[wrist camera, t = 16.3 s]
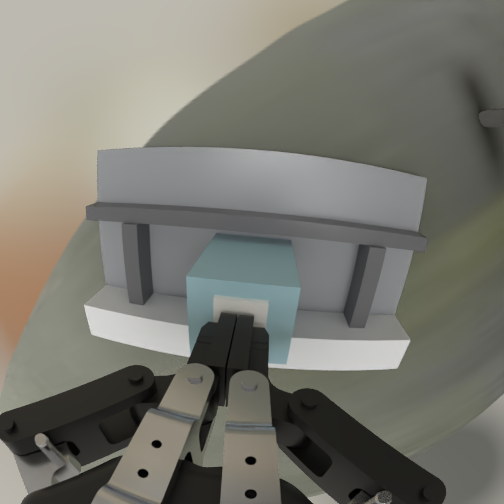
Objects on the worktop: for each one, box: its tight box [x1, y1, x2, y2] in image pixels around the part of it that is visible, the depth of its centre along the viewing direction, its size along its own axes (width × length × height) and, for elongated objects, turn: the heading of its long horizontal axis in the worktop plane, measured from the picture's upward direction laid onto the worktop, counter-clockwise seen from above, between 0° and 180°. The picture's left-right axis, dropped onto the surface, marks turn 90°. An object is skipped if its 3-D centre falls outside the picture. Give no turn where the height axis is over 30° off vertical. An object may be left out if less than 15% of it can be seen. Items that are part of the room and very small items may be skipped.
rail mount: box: [84, 147, 428, 370], centre depth 18 cm, size 24×16×5 cm, turn 86°
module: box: [186, 233, 301, 364], centre depth 16 cm, size 5×4×7 cm
